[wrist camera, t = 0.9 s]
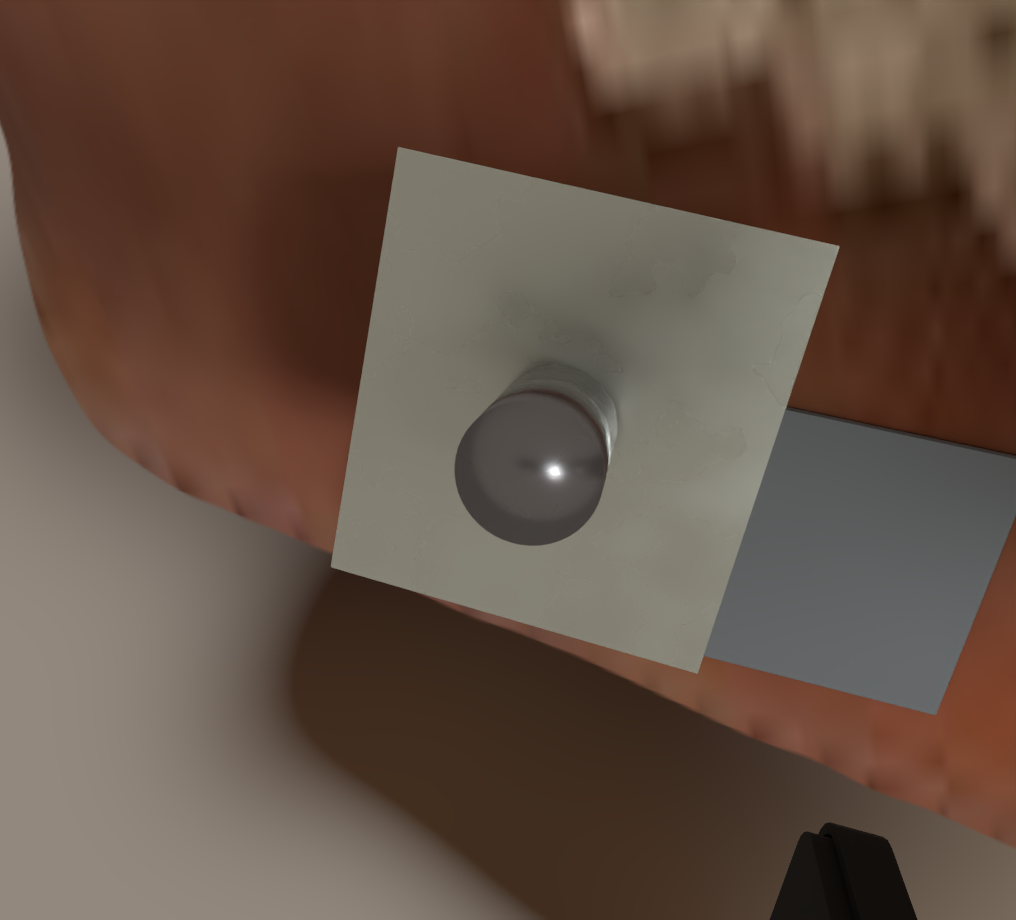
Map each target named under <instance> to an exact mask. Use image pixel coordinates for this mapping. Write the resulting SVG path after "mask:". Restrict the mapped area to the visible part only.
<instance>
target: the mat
mask: <svg viewBox="0 0 1016 920" xmlns="http://www.w3.org/2000/svg"><path fill="white" fill-rule="evenodd" d="M1015 516H1016V456H1014V455H1010V454H1005V453H1000V452H996V451H991V450H986V449H982V448H977V447H972V446H968V445H963V444H958V443H954V442H949V441H944V440H940V439H935V438H930V437H926V436H921V435H916V434H912V433H907V432H902V431H898V430H893V429H888V428H883V427H879V426H874V425H869V424H865V423H860V422H855V421H851V420H846V419H841V418H837V417H832V416H827V415H823V414H818V413H813V412H809V411H804V410H799V409H795V408H790V407H786V409H785V412H784V415H783V418H782V421H781V424H780V427H779V430H778V433H777V436H776V439H775V442H774V445H773V448H772V451H771V454H770V457H769V460H768V463H767V466H766V469H765V472H764V475H763V478H762V481H761V484H760V487H759V490H758V493H757V496H756V499H755V502H754V505H753V508H752V511H751V514H750V517H749V520H748V523H747V526H746V529H745V532H744V535H743V538H742V541H741V544H740V547H739V550H738V553H737V556H736V559H735V562H734V565H733V568H732V571H731V574H730V577H729V580H728V583H727V586H726V589H725V592H724V595H723V598H722V601H721V604H720V607H719V610H718V613H717V616H716V619H715V622H714V625H713V628H712V631H711V634H710V638H709V641H708V644H707V647H706V650H705V653H704V656H706V657H710V658H714V659H718V660H721V661H725V662H729V663H733V664H737V665H741V666H745V667H749V668H753V669H757V670H761V671H765V672H768V673H772V674H776V675H780V676H784V677H788V678H792V679H796V680H800V681H804V682H808V683H812V684H815V685H819V686H823V687H827V688H831V689H835V690H839V691H843V692H847V693H851V694H855V695H859V696H862V697H866V698H870V699H874V700H878V701H882V702H886V703H890V704H894V705H898V706H902V707H906V708H909V709H913V710H917V711H921V712H925V713H929V714H933V715H936V713H937V711H938V708H939V706H940V703H941V701H942V698H943V696H944V693H945V691H946V688H947V686H948V683H949V681H950V678H951V676H952V673H953V671H954V668H955V666H956V663H957V661H958V658H959V656H960V653H961V651H962V648H963V646H964V643H965V641H966V638H967V636H968V633H969V631H970V628H971V626H972V623H973V621H974V618H975V616H976V613H977V611H978V608H979V606H980V603H981V601H982V598H983V596H984V593H985V591H986V589H987V586H988V584H989V581H990V579H991V576H992V574H993V571H994V569H995V566H996V564H997V561H998V559H999V556H1000V554H1001V551H1002V549H1003V546H1004V544H1005V541H1006V539H1007V536H1008V534H1009V531H1010V529H1011V526H1012V524H1013V521H1014V519H1015Z"/></svg>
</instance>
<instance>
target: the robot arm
mask: <svg viewBox="0 0 1016 920" xmlns="http://www.w3.org/2000/svg"><path fill="white" fill-rule="evenodd" d="M770 920H917V917H916V915H915V912H914V909H913V906H912V904H911V901H910V898H909V895H908V892H907V889H906V887H905V884H904V881H903V878H902V876H901V873H900V870H899V867H898V864H897V861H896V859H895V856H894V853H893V851H892V848H891V846H890V844H889V842H888V840H886V839H885V838H883V837H881V836H878V835H874V834H870V833H866V832H863V831H859V830H856V829H852V828H848V827H845V826H841V825H837V824H834V823H826V824H825V825H824V826H823V827H822V828H821V830H820V832H819V834H814V833H810V832H804V833H803V834H802V835H801V837H800V839H799V841H798V844H797V846H796V849H795V852H794V855H793V857H792V860H791V863H790V865H789V868H788V871H787V874H786V877H785V879H784V882H783V885H782V888H781V890H780V893H779V896H778V899H777V901H776V904H775V907H774V910H773V912H772V915H771V918H770Z"/></svg>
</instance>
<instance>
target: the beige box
mask: <svg viewBox="0 0 1016 920" xmlns="http://www.w3.org/2000/svg"><path fill="white" fill-rule="evenodd" d="M839 247H840V246H837V245H832V244H828V243H823V242H819V241H815V240H810V239H806V238H801V237H797V236H792V235H788V234H783V233H779V232H775V231H770V230H766V229H761V228H757V227H752V226H748V225H743V224H739V223H735V222H730V221H726V220H721V219H717V218H712V217H708V216H703V215H699V214H695V213H690V212H686V211H681V210H677V209H672V208H668V207H663V206H659V205H655V204H650V203H646V202H641V201H637V200H632V199H628V198H623V197H619V196H615V195H610V194H606V193H601V192H597V191H592V190H588V189H583V188H579V187H575V186H570V185H566V184H561V183H557V182H552V181H548V180H543V179H539V178H535V177H530V176H526V175H521V174H517V173H512V172H508V171H503V170H499V169H495V168H490V167H486V166H481V165H477V164H472V163H468V162H463V161H459V160H455V159H450V158H446V157H441V156H437V155H432V154H428V153H423V152H419V151H415V150H410V149H406V148H401V147H398V150H397V157H396V163H395V169H394V175H393V182H392V188H391V194H390V200H389V207H388V213H387V219H386V225H385V232H384V238H383V244H382V250H381V257H380V263H379V269H378V275H377V282H376V288H375V294H374V300H373V307H372V313H371V319H370V325H369V332H368V338H367V344H366V350H365V357H364V363H363V369H362V375H361V382H360V388H359V394H358V400H357V407H356V413H355V419H354V425H353V432H352V438H351V444H350V450H349V456H348V463H347V469H346V475H345V481H344V488H343V494H342V500H341V506H340V513H339V519H338V525H337V531H336V538H335V544H334V550H333V556H332V563H331V567H332V568H336V569H339V570H343V571H346V572H350V573H353V574H357V575H360V576H363V577H367V578H370V579H374V580H377V581H381V582H384V583H387V584H391V585H394V586H398V587H401V588H405V589H408V590H411V591H415V592H418V593H422V594H425V595H429V596H432V597H435V598H439V599H442V600H446V601H449V602H453V603H456V604H460V605H463V606H466V607H470V608H473V609H477V610H480V611H484V612H487V613H491V614H494V615H497V616H501V617H504V618H508V619H511V620H515V621H518V622H521V623H525V624H528V625H532V626H535V627H539V628H542V629H546V630H549V631H552V632H556V633H559V634H563V635H566V636H570V637H573V638H577V639H580V640H583V641H587V642H590V643H594V644H597V645H601V646H604V647H607V648H611V649H614V650H618V651H621V652H625V653H628V654H632V655H635V656H638V657H642V658H645V659H649V660H652V661H656V662H659V663H663V664H666V665H669V666H673V667H676V668H680V669H683V670H687V671H690V672H693V673H697V674H698V671H699V668H700V665H701V662H702V659H703V656H704V653H705V650H706V647H707V644H708V641H709V638H710V634H711V631H712V628H713V625H714V622H715V619H716V616H717V613H718V610H719V607H720V604H721V601H722V598H723V595H724V592H725V589H726V586H727V583H728V580H729V577H730V574H731V571H732V568H733V565H734V562H735V559H736V556H737V553H738V550H739V547H740V544H741V541H742V538H743V535H744V532H745V529H746V526H747V523H748V520H749V517H750V514H751V511H752V508H753V505H754V502H755V499H756V496H757V493H758V490H759V487H760V484H761V481H762V478H763V475H764V472H765V469H766V466H767V463H768V460H769V457H770V454H771V451H772V448H773V445H774V442H775V439H776V436H777V433H778V430H779V427H780V424H781V421H782V418H783V415H784V412H785V409H786V406H787V403H788V400H789V397H790V394H791V391H792V388H793V385H794V382H795V379H796V376H797V373H798V370H799V367H800V364H801V361H802V358H803V355H804V352H805V349H806V346H807V343H808V340H809V337H810V334H811V331H812V328H813V325H814V322H815V319H816V316H817V313H818V310H819V307H820V304H821V301H822V298H823V295H824V292H825V289H826V286H827V283H828V280H829V277H830V274H831V271H832V268H833V265H834V262H835V259H836V256H837V253H838V250H839Z"/></svg>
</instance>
